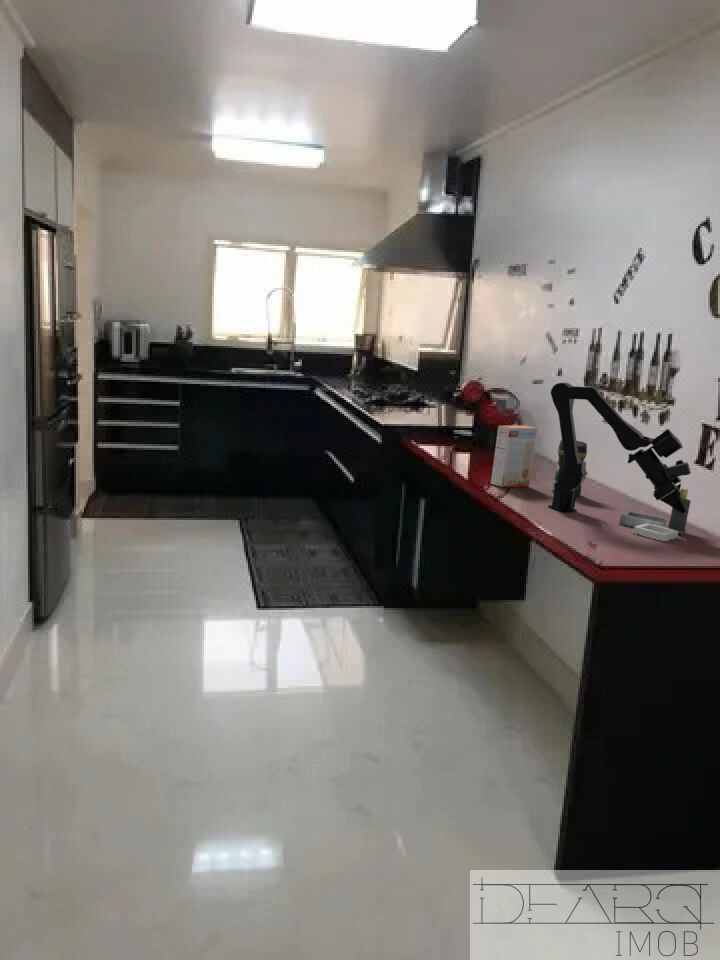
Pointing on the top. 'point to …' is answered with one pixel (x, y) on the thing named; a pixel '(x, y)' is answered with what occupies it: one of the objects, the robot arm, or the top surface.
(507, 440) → the cracker box
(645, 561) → the top surface
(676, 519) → the plug
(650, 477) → the robot arm
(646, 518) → the grey tray
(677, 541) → the top surface
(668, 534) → the socket
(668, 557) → the top surface
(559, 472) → the coffee jar
